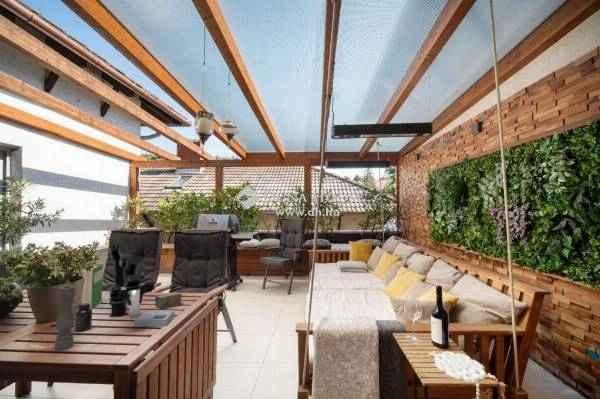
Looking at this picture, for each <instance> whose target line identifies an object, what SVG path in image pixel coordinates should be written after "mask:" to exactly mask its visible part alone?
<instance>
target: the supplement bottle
mask: <svg viewBox="0 0 600 399" xmlns="http://www.w3.org/2000/svg"><path fill="white" fill-rule="evenodd" d="M92 322H93V309H91V308H90V303H84V304H79V305H78V306H77V310H75V313H74V326H73V327H74V331H75V332H76V333H77V332H85V331H89V330H91V329H92Z"/></svg>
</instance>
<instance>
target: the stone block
mask: <svg viewBox="0 0 600 399" xmlns="http://www.w3.org/2000/svg"><path fill="white" fill-rule="evenodd" d="M182 296H183V295H182V293H181V292H171V293H165V294H159V295H155V296H154V302H155V308H157V309H158V310H164V309H168V308H173V307H179V306H181V303H182Z"/></svg>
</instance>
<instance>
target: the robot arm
mask: <svg viewBox="0 0 600 399" xmlns="http://www.w3.org/2000/svg"><path fill="white" fill-rule="evenodd" d="M108 255H110V259H111V260H112V261H113V267H114V268H113V270H114V286H113V285H112V286H111V287H110V290H109V297H110V298H109V305H110V306H111V310H110V311H111V314H110V315H109V317H123V316H124V315H125V314H127V313H128V312H127V310H128V309H127V308H128V306H130V290H132V289H140V305H141V304H142V301H143V296H144V295H145V294H146V293H151V292H153V291H154V288H155V282H154V281H153V280H152V281H145V282H144V285H143V284H142V285H140V284H141V281H143V280H144V279H145V278H146V277H145V276H146V275H145V271H143V272H140V273H137V271H138V269H139V266H140V263H141V258H140V257H139V256H137V255H136V254H135V253H134V254H132V253H130V250H129V248H128V244H127V242H117V243H115V244H114V245H111V246H110V247H109V249H108Z"/></svg>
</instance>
